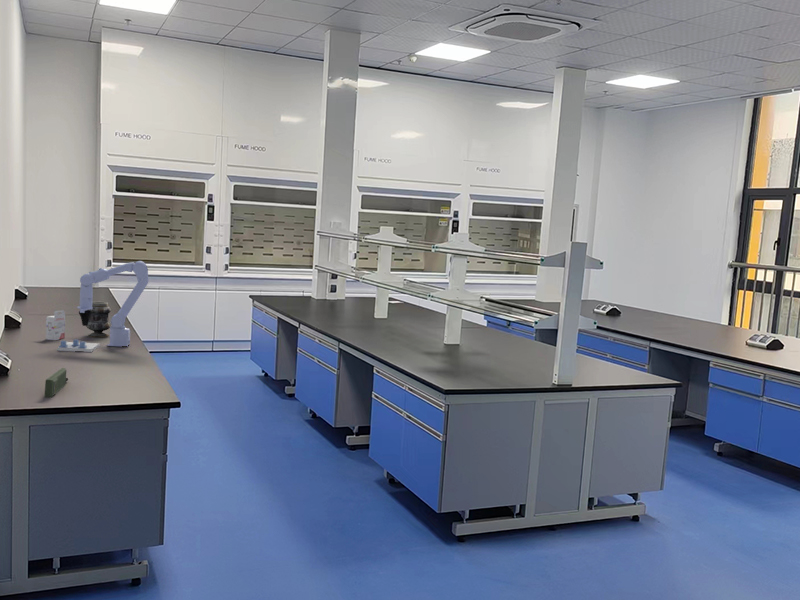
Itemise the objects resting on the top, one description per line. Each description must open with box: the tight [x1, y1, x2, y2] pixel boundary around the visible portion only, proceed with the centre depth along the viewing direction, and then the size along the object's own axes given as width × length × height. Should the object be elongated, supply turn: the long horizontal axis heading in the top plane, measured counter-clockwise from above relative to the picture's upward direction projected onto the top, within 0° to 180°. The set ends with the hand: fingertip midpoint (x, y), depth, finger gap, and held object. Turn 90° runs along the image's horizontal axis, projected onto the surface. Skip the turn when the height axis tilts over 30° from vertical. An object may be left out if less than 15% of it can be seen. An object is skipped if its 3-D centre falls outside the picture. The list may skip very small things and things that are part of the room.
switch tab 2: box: [72, 338, 80, 346], centre depth 346 cm, size 3×3×3 cm
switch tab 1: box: [58, 339, 68, 347], centre depth 340 cm, size 3×3×3 cm
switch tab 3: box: [78, 340, 87, 348], centre depth 342 cm, size 3×3×3 cm
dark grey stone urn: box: [85, 301, 112, 338], centre depth 385 cm, size 12×12×18 cm
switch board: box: [57, 341, 101, 353], centre depth 347 cm, size 15×16×2 cm
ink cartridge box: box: [45, 309, 66, 341], centre depth 367 cm, size 9×5×15 cm, turn 168°
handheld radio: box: [43, 367, 69, 398], centre depth 267 cm, size 7×3×25 cm
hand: (85, 325), depth 358 cm, fingers closed
